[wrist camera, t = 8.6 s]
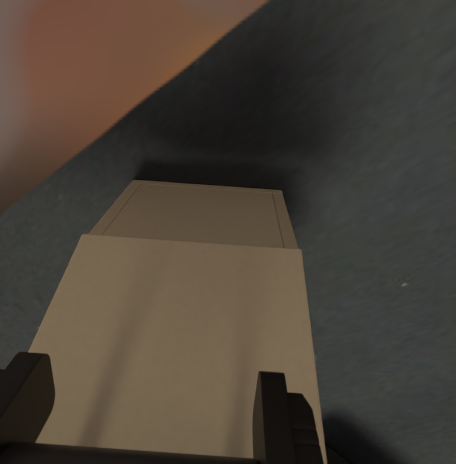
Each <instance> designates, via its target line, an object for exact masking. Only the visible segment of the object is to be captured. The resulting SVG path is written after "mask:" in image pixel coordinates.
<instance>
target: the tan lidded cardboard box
mask: <svg viewBox="0 0 456 464" xmlns="http://www.w3.org/2000/svg"><path fill="white" fill-rule="evenodd" d="M88 234H93V235H107V236H121V237H135V238H149V239H163V240H178V241H192V242H206V243H220V244H234V245H248V246H262V247H277V248H291V249H298V246H297V242H296V239H295V235H294V232H293V229H292V225H291V222H290V218H289V215H288V211H287V208H286V204H285V201H284V197H283V193H282V190H271V189H257V188H243V187H229V186H215V185H200V184H186V183H172V182H158V181H144V180H132V181H131V183H130V184H129V185H128V187H127V188H126V189H125V190H124V191H123V193H122V194H121V195H120V196H119V197H118V199H117V200H116V201H115V202H114V203H113V205H112V206H111V207H110V208H109V209H108V211H107V212H106V213H105V214H104V215H103V217H102V218H101V219H100V220H99V221H98V223H97V224H96V225H95V226H94V227H93V229H92V230H91V231H90V232H89V233H88Z"/></svg>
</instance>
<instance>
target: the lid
mask: <svg viewBox="0 0 456 464" xmlns="http://www.w3.org/2000/svg"><path fill="white" fill-rule="evenodd" d="M28 352H32V353H45V354H48V355H49V356H50V360H51V367H52V373H53V380H54V386H55V401H54V406H53V409H52V412H51V414H50V416H49V418H48V420H47V422H46V424H45V425H44V427H43V429H42V431H41V433H40V435H39V437H38V438H37V440H36V442H35V443H30V442H15V443H12V444H10V445H9V446H8V447H6V448H5V450H4V451H3V452H2V453H1V454H0V464H259V463H258V460H257V459H255V458H253V436H252V419H253V407H254V399H255V392H256V385H257V378H258V372H259V371H268V372H281V373H284V374H285V379H286V386H287V392H290V393H302V394H303V396H304V397H305V399H306V400H307V402H308V403H309V405H310V406H311V408H312V409H313V414H314V419H315V424H316V431H317V433H318V438H319V446H320V448H321V453H322V457H323V462H324V464H327V457H326V449H325V441H324V432H323V424H322V416H321V407H320V399H319V391H318V383H317V374H316V366H315V358H314V349H313V341H312V333H311V324H310V316H309V308H308V300H307V291H306V283H305V275H304V266H303V258H302V250H301V249H291V248H277V247H262V246H248V245H234V244H220V243H206V242H192V241H178V240H163V239H149V238H135V237H121V236H107V235H93V234H82V236H81V238H80V240H79V242H78V244H77V246H76V249H75V251H74V253H73V255H72V257H71V260H70V262H69V264H68V266H67V268H66V270H65V273H64V275H63V277H62V279H61V281H60V284H59V286H58V288H57V290H56V292H55V294H54V297H53V299H52V301H51V303H50V305H49V307H48V310H47V312H46V314H45V316H44V318H43V321H42V323H41V325H40V327H39V329H38V331H37V334H36V336H35V338H34V340H33V342H32V344H31V347H30V349H29V351H28Z"/></svg>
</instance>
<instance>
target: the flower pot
mask: <svg viewBox="0 0 456 464" xmlns="http://www.w3.org/2000/svg"><path fill="white" fill-rule="evenodd" d="M325 449H326V457H327V464H351V463H349V462H348V461H347V460H345V459H344V458H343V457H341V456H340V455H339V454H337V453H336V452H335V451H333V450H332V449H331V448H329V447H328V446H326V445H325Z"/></svg>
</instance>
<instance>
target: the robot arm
mask: <svg viewBox="0 0 456 464" xmlns="http://www.w3.org/2000/svg"><path fill="white" fill-rule="evenodd" d="M54 401H55V386H54V380H53V373H52V367H51V360H50V356H49V355H48V354H45V353H32V352H19V353H18V354H17V355H16V356H15V357H14V358H13V360H12V361H11V362H10V364H9V365H8V366H7V368H6V369H5V370H2V369H0V454H1V453H2V452H3V451H4V450H5V448H6V447H8V446H9V445H10V444H12V443H15V442H30V443H35V442H36V440H37V438H38V437H39V435H40V433H41V431H42V429H43V427H44V425H45V424H46V422H47V420H48V418H49V416H50V414H51V412H52V409H53V406H54ZM252 436H253V458H255V459H257V460H258V463H259V464H324V462H323V457H322V453H321V448H320V446H319V438H318V433H317V431H316V424H315V419H314V414H313V409H312V408H311V406H310V405H309V403H308V402H307V400H306V399H305V397H304V396H303V394H302V393H290V392H287V386H286V379H285V374H284V373H281V372H268V371H259V372H258V378H257V385H256V392H255V399H254V407H253V419H252Z"/></svg>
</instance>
